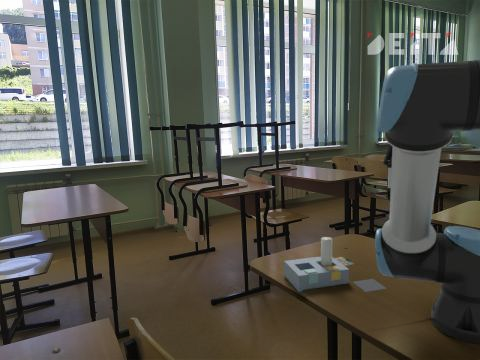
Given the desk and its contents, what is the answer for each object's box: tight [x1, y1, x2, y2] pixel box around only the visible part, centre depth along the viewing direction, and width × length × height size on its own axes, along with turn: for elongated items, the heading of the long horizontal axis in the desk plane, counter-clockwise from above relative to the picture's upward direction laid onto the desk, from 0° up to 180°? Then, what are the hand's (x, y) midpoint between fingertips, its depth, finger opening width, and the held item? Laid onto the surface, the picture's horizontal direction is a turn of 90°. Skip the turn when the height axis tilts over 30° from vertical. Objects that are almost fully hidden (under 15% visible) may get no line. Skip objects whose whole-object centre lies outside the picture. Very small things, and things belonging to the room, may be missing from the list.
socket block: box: [283, 255, 350, 293], centre depth 117 cm, size 12×16×5 cm
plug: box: [320, 236, 333, 267], centre depth 117 cm, size 3×3×12 cm
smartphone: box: [333, 255, 356, 267], centre depth 129 cm, size 8×15×1 cm, turn 107°
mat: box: [352, 278, 388, 293], centre depth 112 cm, size 7×7×1 cm
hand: (406, 191), depth 115 cm, fingers open, 13 cm apart
